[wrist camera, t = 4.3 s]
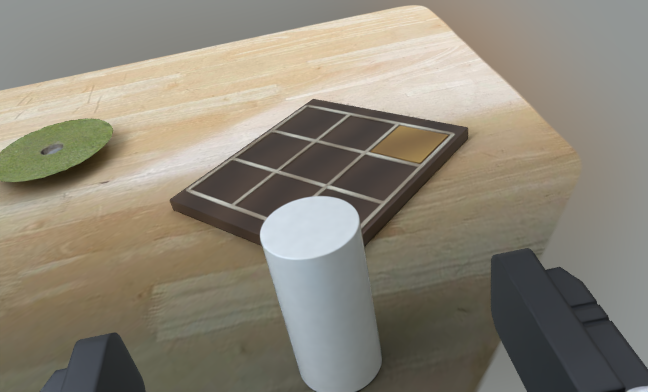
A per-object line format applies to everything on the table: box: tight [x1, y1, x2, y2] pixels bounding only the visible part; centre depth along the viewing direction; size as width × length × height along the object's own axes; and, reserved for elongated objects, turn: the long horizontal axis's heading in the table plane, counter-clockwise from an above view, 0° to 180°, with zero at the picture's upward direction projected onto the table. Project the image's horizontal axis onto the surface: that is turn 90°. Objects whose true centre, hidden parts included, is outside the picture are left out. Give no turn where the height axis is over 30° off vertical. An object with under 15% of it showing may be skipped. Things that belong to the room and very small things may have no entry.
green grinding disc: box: [0, 118, 113, 182], centre depth 53 cm, size 11×11×2 cm
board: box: [170, 99, 468, 246], centre depth 45 cm, size 16×18×1 cm
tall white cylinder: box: [260, 196, 382, 392], centre depth 27 cm, size 4×4×9 cm
